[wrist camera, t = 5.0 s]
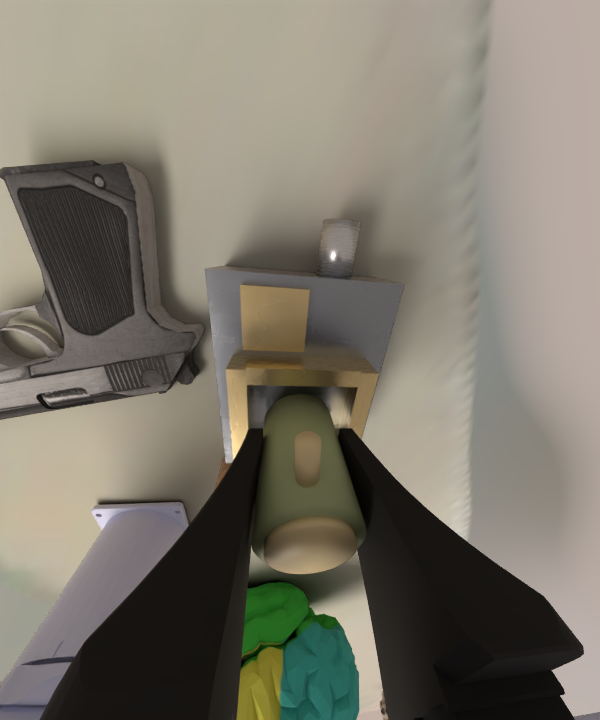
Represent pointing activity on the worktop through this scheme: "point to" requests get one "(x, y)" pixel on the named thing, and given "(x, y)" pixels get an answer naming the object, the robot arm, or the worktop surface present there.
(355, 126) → the worktop surface
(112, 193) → the handgun
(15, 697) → the robot arm
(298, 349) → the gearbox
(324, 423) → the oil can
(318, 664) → the brain model
